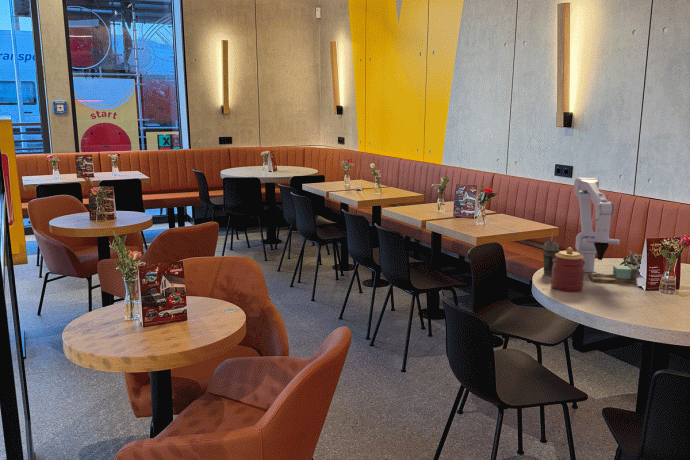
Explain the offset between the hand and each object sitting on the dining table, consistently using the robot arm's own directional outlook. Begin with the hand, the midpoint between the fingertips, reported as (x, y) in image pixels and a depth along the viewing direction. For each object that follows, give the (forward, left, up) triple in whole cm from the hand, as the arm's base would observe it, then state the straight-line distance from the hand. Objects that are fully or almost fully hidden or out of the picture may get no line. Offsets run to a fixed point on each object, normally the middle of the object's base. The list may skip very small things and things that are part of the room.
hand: (599, 259), depth 264 cm
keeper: (+10, +1, -8) cm, 13 cm away
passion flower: (+19, +18, -10) cm, 28 cm away
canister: (-16, -15, -10) cm, 24 cm away
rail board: (+6, +1, -9) cm, 11 cm away
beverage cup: (-20, +6, -10) cm, 23 cm away
